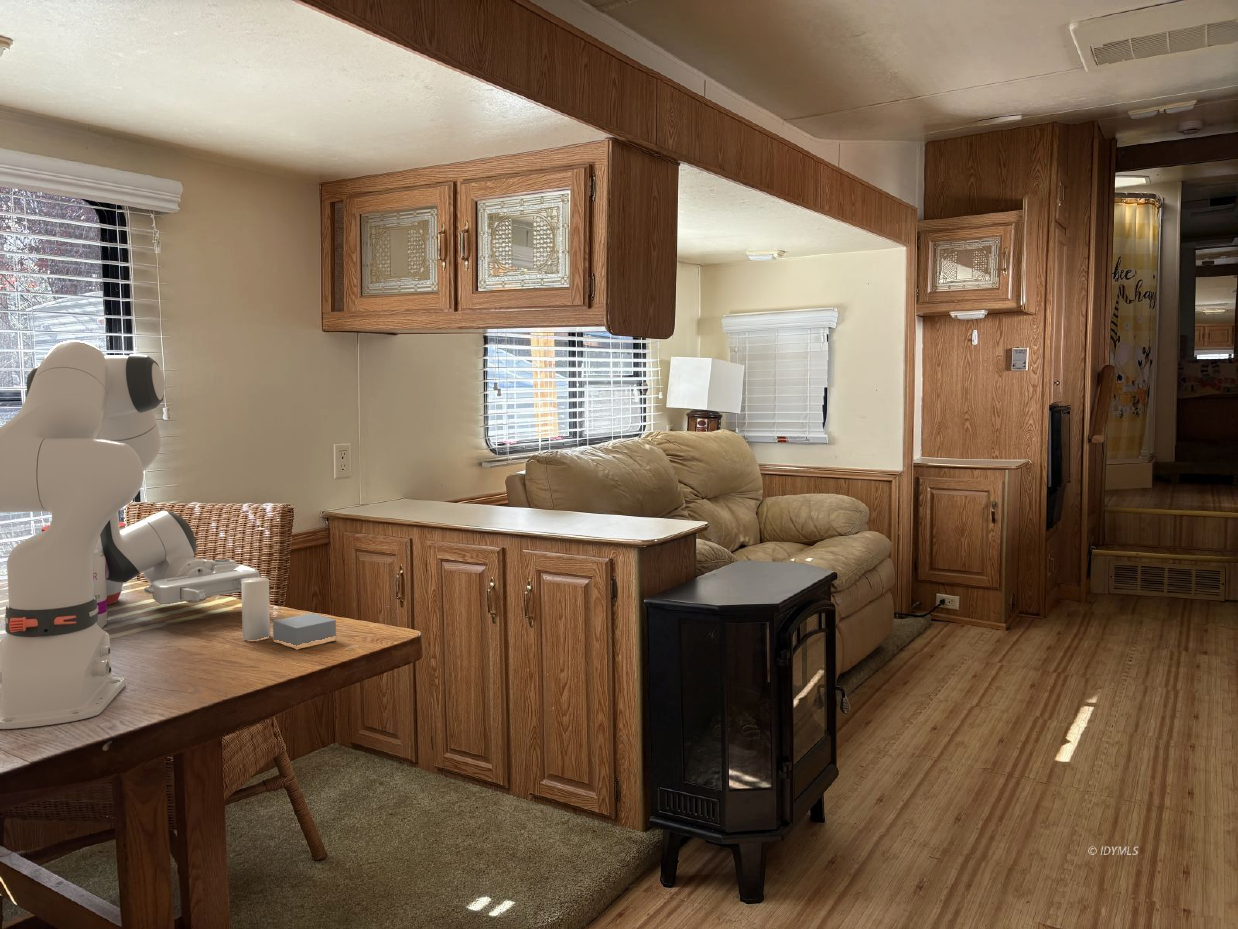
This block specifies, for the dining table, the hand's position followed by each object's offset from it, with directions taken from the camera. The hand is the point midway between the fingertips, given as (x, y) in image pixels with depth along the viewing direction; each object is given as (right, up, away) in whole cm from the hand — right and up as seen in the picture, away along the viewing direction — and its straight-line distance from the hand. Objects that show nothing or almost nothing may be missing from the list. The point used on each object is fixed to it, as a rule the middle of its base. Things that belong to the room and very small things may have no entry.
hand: (225, 592), depth 183 cm
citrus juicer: (-37, -5, +17) cm, 41 cm away
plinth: (+19, -8, -10) cm, 23 cm away
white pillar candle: (+9, -8, -8) cm, 14 cm away
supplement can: (-26, -7, -2) cm, 28 cm away
